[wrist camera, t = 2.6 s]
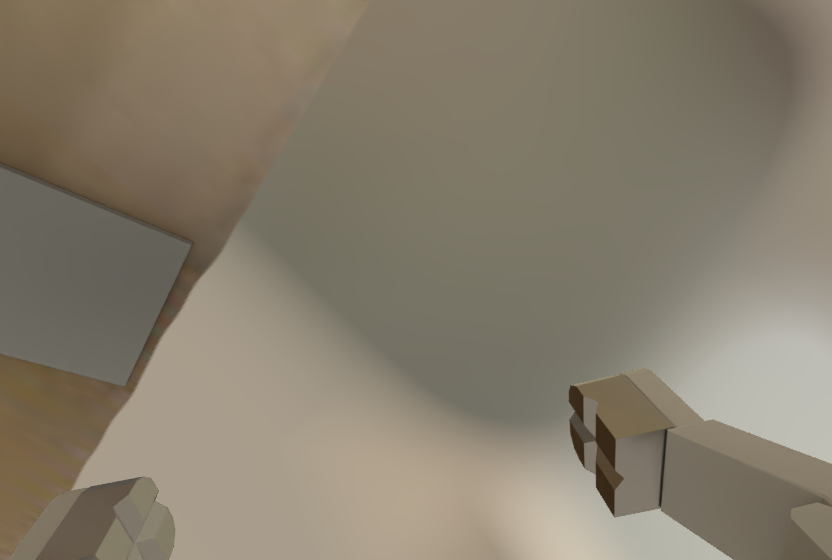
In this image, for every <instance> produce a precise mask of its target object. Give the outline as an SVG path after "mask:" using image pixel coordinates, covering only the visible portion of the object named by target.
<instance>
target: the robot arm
mask: <svg viewBox="0 0 832 560" xmlns="http://www.w3.org/2000/svg"><path fill="white" fill-rule="evenodd" d="M569 403H570V404H571V406H572V407H573V409H574V410H575V413H574V414H573V416H572V417H571V419H570V433H571V438H572V442H573V445H574V449H575V451H576V453H577V455H578V457H579V459H580V461H581V463H582V464H583V466H584V468H585V469H586V470H588V471H590V472H592V473H594V474H596V488H597V490H598V491H599V493H600V495H601V496H602V498H603V499H604V501H605V503H606V504H607V506H608V508H609V509H610V511H611V513H612V514H613V516H614V517H619V516H624V515H629V514H634V513H640V512H644V511H650V510H655V509H660V508H661V511H662V512H664V513H665V514H666V515H668V516H669V517H671V518H672V519H674V520H675V521H677V522H678V523H680V524H681V525H683V526H684V527H686V528H687V529H689V530H690V531H692V532H693V533H695V534H696V535H698V536H699V537H701V538H702V539H704V540H705V541H707V542H708V543H710V544H711V545H713V546H714V547H716V548H717V549H718V550H720V551H722V552H723V553H724V554H726V555H727V556H729V557H731V558H732V559H733V560H832V464H830V463H827V462H825V461H822V460H819V459H817V458H814V457H811V456H809V455H806V454H803V453H801V452H798V451H795V450H792V449H790V448H787V447H785V446H782V445H779V444H777V443H774V442H771V441H768V440H766V439H763V438H761V437H758V436H755V435H753V434H750V433H747V432H745V431H742V430H739V429H737V428H734V427H731V426H729V425H726V424H723V423H721V422H718V421H715V420H708V421H704V420H703V419H702V418H701V417H700V416H699V415H698V414H697V413H696V412H694V411H693V410H692V409H691V408H690V407H689V406H688V405H687V404H686V403H685V402H684V401H683V400H682V399H681V398H680V397H679V396H678V395H676V394H675V393H674V392H673V391H672V390H671V389H670V388H669V387H668V386H667V385H666V384H665V383H664V382H663V381H662V380H661V379H660V378H659V377H657V376H656V375H655V374H654V373H653V372H652V371H651V370H649V369H647V368H642V369H637V370H633V371H629V372H625V373H620V374H619V375H614V376H610V377H605V378H600V379H596V380H591V381H587V382H582V383H578V384H573V385H570V389H569ZM158 491H159V490H158V489H157V487H156V485H155V484H154V482H153V480H152V479H151V478H147V477H139V478H134V479H128V480H123V481H118V482H112V483H107V484H102V485H97V486H91V487H89V488H84V489H78V490H73V491H68V492H63V493H61V494H60V495H58V496H56V497H55V498H53V499H52V500H51V502H50V503H49V504H48V506H47V507H46V509H45V510H44V511H43V513H42V514H41V515H40V517H39V518H38V519H37V521H36V522H35V523H34V525H33V526H32V528H31V529H30V530H29V532H28V533H27V534H26V536H25V537H24V538H23V540H22V541H21V542H20V544H19V545H18V546H17V548H16V549H15V551H14V552H13V553H12V555H11V556H10V557H9V559H8V560H169V558H170V555H171V552H172V550H173V547H174V537H175V526H174V521H173V517H172V515H171V513H170V511H169V509H168V507H166V506H164V505H162V504H160V503H158V502H156V501H155V499H156V497H157V494H158Z"/></svg>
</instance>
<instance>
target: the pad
mask: <svg viewBox="0 0 832 560" xmlns="http://www.w3.org/2000/svg"><path fill="white" fill-rule="evenodd" d="M192 244H193V242H191V241H189V240H187V239H184V238H182V237H179V236H177V235H174V234H172V233H170V232H167V231H165V230H162V229H160V228H157V227H155V226H153V225H150V224H148V223H145V222H143V221H140V220H138V219H136V218H133V217H131V216H128V215H126V214H123V213H121V212H119V211H116V210H114V209H111V208H109V207H106V206H104V205H102V204H99V203H97V202H94V201H92V200H89V199H87V198H85V197H82V196H80V195H77V194H75V193H72V192H70V191H68V190H65V189H63V188H60V187H58V186H55V185H53V184H51V183H48V182H46V181H43V180H41V179H38V178H36V177H34V176H31V175H29V174H26V173H24V172H21V171H19V170H17V169H14V168H12V167H9V166H7V165H4V164H2V163H0V354H3V355H6V356H10V357H14V358H18V359H21V360H25V361H29V362H33V363H37V364H40V365H44V366H48V367H52V368H56V369H59V370H63V371H67V372H71V373H75V374H78V375H82V376H86V377H90V378H94V379H97V380H101V381H105V382H109V383H113V384H116V385H120V386H124V387H125V385H126V383H127V381H128V379H129V377H130V374H131V372H132V370H133V368H134V366H135V364H136V362H137V360H138V358H139V356H140V353H141V351H142V349H143V347H144V345H145V343H146V341H147V339H148V337H149V334H150V332H151V330H152V328H153V326H154V324H155V322H156V320H157V318H158V315H159V313H160V311H161V309H162V307H163V305H164V303H165V301H166V299H167V296H168V294H169V292H170V290H171V288H172V286H173V284H174V282H175V280H176V277H177V275H178V273H179V271H180V269H181V267H182V265H183V263H184V261H185V258H186V256H187V254H188V252H189V250H190V248H191V246H192Z"/></svg>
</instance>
